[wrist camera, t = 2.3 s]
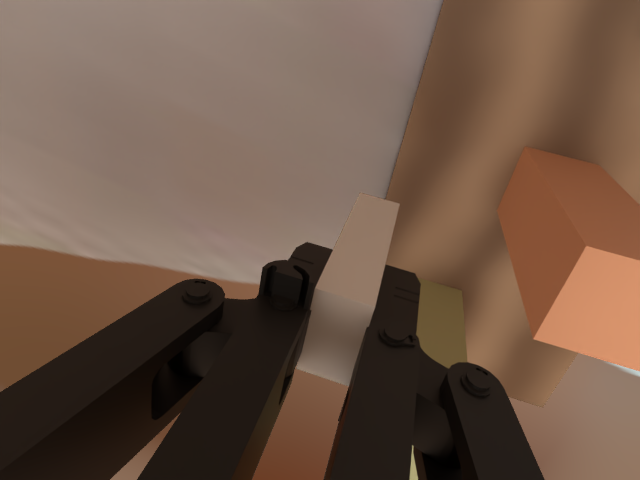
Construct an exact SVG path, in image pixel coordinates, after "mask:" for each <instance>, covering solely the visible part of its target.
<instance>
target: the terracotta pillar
mask: <svg viewBox="0 0 640 480" xmlns="http://www.w3.org/2000/svg"><path fill="white" fill-rule="evenodd" d="M497 213H498V216H499V220H500V223H501V227H502V230H503V234H504V238H505V241H506V245H507V248H508V252H509V255H510V259H511V262H512V266H513V269H514V273H515V277H516V280H517V284H518V287H519V291H520V294H521V298H522V301H523V305H524V309H525V312H526V316H527V319H528V323H529V326H530V330H531V333H532V337H533V339H534V340H538V341H541V342H544V343H548V344H551V345H554V346H558V347H561V348H564V349H568V350H571V351H574V352H578V353H581V354H584V355H588V356H591V357H594V358H598V359H601V360H604V361H607V362H611V363H614V364H617V365H621V366H624V367H627V368H631V369H634V370H637V371H640V205H639V204H638V203H637V202H636V201H635V200H634V199H633V198H632V197H631V196H630V195H629V194H628V193H627V192H626V191H625V190H624V189H623V188H622V187H621V186H620V185H619V184H618V183H617V182H616V181H615V180H614V179H613V178H612V177H611V176H610V175H609V174H608V173H607V172H606V171H605V170H604V169H603V168H602V167H601V166H600V165H597V164H593V163H589V162H585V161H581V160H577V159H573V158H569V157H565V156H561V155H557V154H553V153H549V152H546V151H542V150H538V149H534V148H530V147H526V146H525V147H524V149H523V151H522V154H521V156H520V158H519V161H518V163H517V165H516V168H515V170H514V172H513V174H512V177H511V179H510V181H509V184H508V186H507V188H506V191H505V193H504V195H503V197H502V200H501V202H500V204H499V207H498V209H497Z"/></svg>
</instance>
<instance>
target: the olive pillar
mask: <svg viewBox="0 0 640 480" xmlns="http://www.w3.org/2000/svg"><path fill="white" fill-rule="evenodd" d="M418 280H419V282H420V283H421V288H420V295H419V296H420V299H419V310H418V321H417V332H416V335H417V336H418V338H419V342H420V347H421V348H422V350H423V351H424V352H425V353H426V354H427V355H428V356H429V357H430V358H432V359H433V360H435V361H436V362H438V363H440V364H441V365H443V366H445V367H447V368H448V369H449V368H450V367H451V365H453V364H456V363H458V362H467V349H466V337H465V324H464V311H463V298H462V290H458V289H455V288H451V287H448V286H445V285H441V284H438V283H434V282H431V281H428V280H424V279H421V278H418ZM410 480H418V476H417V471H416V465H415V460H414V454H413V445H412V455H411V468H410Z"/></svg>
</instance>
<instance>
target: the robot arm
mask: <svg viewBox="0 0 640 480" xmlns="http://www.w3.org/2000/svg"><path fill="white" fill-rule="evenodd" d="M399 205H400V204H399V203H395V202H392V201H388V200H385V199H381V198H378V197H374V196H371V195H367V194H363V193H360V194H359V196H358V198H357V200H356V202H355V204H354V207H353V209H352V211H351V213H350V215H349V217H348V219H347V221H346V223H345V226H344V228H343V230H342V232H341V234H340V236H339V238H338V240H337V243H336V245H335V247H334V249H333V250H332V249H328V248H325V247H322V246H318V245H315V244H312V243H308V242H306V243H304V244H302V245H300V246H298V247H297V248H296V249H295V250H294V252H293V254H292V255H291V258H289V260H288V261H287V260H279V261H273V262H270V263H268V264H266V265H265V266H264V267H263V269H262V275H261V282H260V288H259V294H258V296H257V297H256V298H255V299H248V300H238V299H228V298H227V299H226V298H225V293H224V291H223V289H222V288H221V287H220V286H218V285H217V284H216V283H214V282H211V281H208V280H204V279H190V280H185V281H182V282H180V283H177V284H176V285H174V286H172V287H171V288H169V289H167V290H166V291H164V292H162V293H161V294H159V295H157V296H156V297H154V298H153V299H151V300H149V301H148V302H146V303H144V304H143V305H141V306H140V307H138V308H136V309H135V310H133V311H132V312H130V313H128V314H127V315H125V316H123V317H122V318H120V319H118V320H117V321H115V322H114V323H112V324H110V325H109V326H107V327H105V328H104V329H102V330H101V331H99V332H97V333H96V334H94V335H92V336H91V337H89V338H88V339H86V340H84V341H83V342H81V343H79V344H78V345H76V346H74V347H73V348H71V349H70V350H68V351H66V352H65V353H63V354H61V355H60V356H58V357H57V358H55V359H53V360H52V361H50V362H49V363H47V364H45V365H44V366H42V367H40V368H39V369H37V370H36V371H34V372H32V373H31V374H29V375H27V376H26V377H24V378H22V379H21V380H19V381H17V382H16V383H14V384H13V385H11V386H9V387H8V388H6V389H4V390H3V391H2V392H0V480H110V479H111V478H112V477H113V476H114V475H115V474H116V473H117V472H118V471H119V470H120V469H121V468H122V467H123V466H125V465H126V464H127V463H128V462H129V461H130V460H131V459H132V458H133V457H134V456H135V455H136V454H137V453H138V452H139V451H140V450H141V449H142V448H144V446H146V445H147V444H148V443H149V442H150V441H151V440H152V439H153V438H154V437H155V436H156V435H157V434H158V433H159V432H160V431H162V430H163V429H164V428H165V427H166V426H167V425H168V424H169V423H170V422H171V421H172V420H173V419H174V418H175V417H176V416H177V415H178V414H179V413H180V415H179V416H178V418H177V420H176V421H175V423H174V424H173V426H172V427H171V429H170V430H169V432H168V433H167V435H166V436H165V438H164V439H163V441H162V443H161V444H160V445H159V447H158V449H157V450H156V451H155V453H154V455H153V456H152V458H151V459H150V461H149V462H148V464H147V465H146V467H145V468H144V470H143V471H142V473H141V474H140V476H139V477H138V479H137V480H252V478H253V475H254V473H255V470H256V468H257V466H258V463H259V461H260V458H261V456H262V453H263V451H264V448H265V446H266V444H267V441H268V439H269V436H270V434H271V431H272V429H273V427H274V424H275V422H276V419H277V417H278V414H279V412H280V410H281V407H282V405H283V402H284V400H285V397H286V395H287V393H288V390H289V388H290V385H291V382H292V378H293V373H294V369H295V367H296V365H297V369H299V370H302V371H305V372H307V373H311V374H314V375H316V376H319V377H323V378H325V379H329V380H331V381H335V382H337V383H340V384H343V385H346V386H349V388H348V391H347V394H346V397H345V400H344V404H343V407H342V410H341V413H340V416H339V419H338V421H339V423H338V427H337V430H336V434H335V438H334V442H333V446H332V450H331V453H330V457H329V461H328V465H327V468H326V472H325V476H324V480H410V468H411V455H412V445H413V454H414V460H415V465H416V471H417V476H418V480H544V477H543V475H542V473H541V471H540V469H539V466H538V464H537V462H536V459H535V457H534V455H533V453H532V450H531V448H530V446H529V443H528V441H527V439H526V437H525V434H524V432H523V430H522V428H521V425H520V423H519V421H518V418H517V416H516V414H515V412H514V409H513V407H512V405H511V403H510V400H509V398H508V396H507V393H506V391H505V389H504V387H503V386H502V384H501V383H500V381H499V380H498V379H497V378H496V377H495V376H494V375H493V374H492V373H491V372H490V371H488V370H486V369H484V368H483V367H481V366H479V365H476V364H472V363H469V362H458V363H456V364H453V365H451V367H450V368H449V369H448V368H447V367H445V366H443V365H441V364H440V363H438V362H436V361H435V360H433V359H432V358H430V357H429V356H428V355H427V354H426V353H425V352H424V351H423V350H422V348H421V347H420V342H419V338H418V336H417V335H416V332H417V321H418V310H419V299H420V296H419V295H420V288H421V283H420V282H419V280H418V278H417V276H416V274H415V273H413V272H409V271H406V270H403V269H399V268H396V267H393V266H389V265H386V259H387V255H388V251H389V247H390V243H391V238H392V234H393V230H394V226H395V222H396V217H397V213H398V209H399ZM297 362H298V364H297Z"/></svg>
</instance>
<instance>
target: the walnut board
mask: <svg viewBox="0 0 640 480" xmlns="http://www.w3.org/2000/svg"><path fill="white" fill-rule="evenodd" d="M525 146H526V147H530V148H534V149H538V150H542V151H546V152H549V153H553V154H557V155H561V156H565V157H569V158H573V159H577V160H581V161H585V162H589V163H593V164H597V165H600V166H601V167H602V168H603V169H604V170H605V171H606V172H607V173H608V174H609V175H610V176H611V177H612V178H613V179H614V180H615V181H616V182H617V183H618V184H619V185H620V186H621V187H622V188H623V189H624V190H625V191H626V192H627V193H628V194H629V195H630V196H631V197H632V198H633V199H634V200H635V201H636V202H637V203H638V204H639V205H640V0H444V1H443V4H442V8H441V11H440V14H439V18H438V21H437V25H436V28H435V31H434V35H433V38H432V42H431V45H430V49H429V52H428V55H427V59H426V62H425V66H424V69H423V73H422V76H421V79H420V83H419V86H418V90H417V93H416V96H415V100H414V103H413V107H412V110H411V114H410V117H409V120H408V124H407V127H406V131H405V134H404V137H403V141H402V144H401V148H400V151H399V155H398V158H397V161H396V165H395V168H394V172H393V175H392V178H391V182H390V185H389V189H388V192H387V196H386V199H385V200H388V201H392V202H395V203H399V204H400V205H399V209H398V213H397V217H396V222H395V226H394V230H393V234H392V238H391V243H390V247H389V251H388V255H387V259H386V265H389V266H393V267H396V268H399V269H403V270H406V271H409V272H413V273H415V274H416V276H417V278H421V279H424V280H428V281H431V282H434V283H438V284H441V285H445V286H448V287H451V288H455V289H458V290H462V298H463V311H464V324H465V337H466V349H467V362H469V363H472V364H476V365H479V366H481V367H483V368H484V369H486V370H488V371H490V372H491V373H492V374H493V375H494V376H495V377H496V378H497V379H498V380H499V381H500V383H501V384H502V386H503V387H504V389H505V391H506V393H507V396H508V397H511V398H514V399H517V400H520V401H524V402H527V403H530V404H533V405H536V406H539V407H543V406H544V405H545V403H546V401H547V400H548V399H549V397H550V395H551V394H552V392H553V391H554V389H555V388H556V386H557V385H558V383H559V382H560V380H561V379H562V377H563V375H564V374H565V372H566V371H567V369H568V368H569V366H570V365H571V363H572V362H573V360H574V359H575V357H576V356H577V354H578V352H574V351H571V350H568V349H564V348H561V347H558V346H554V345H551V344H548V343H544V342H541V341H538V340H534V339H533V337H532V333H531V330H530V326H529V323H528V319H527V316H526V312H525V309H524V305H523V301H522V298H521V294H520V291H519V287H518V284H517V280H516V277H515V273H514V269H513V266H512V262H511V259H510V255H509V252H508V248H507V245H506V241H505V238H504V234H503V230H502V227H501V223H500V220H499V216H498V213H497V209H498V207H499V204H500V202H501V200H502V197H503V195H504V193H505V191H506V188H507V186H508V184H509V181H510V179H511V177H512V174H513V172H514V170H515V168H516V165H517V163H518V161H519V158H520V156H521V154H522V151H523V149H524V147H525Z"/></svg>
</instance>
